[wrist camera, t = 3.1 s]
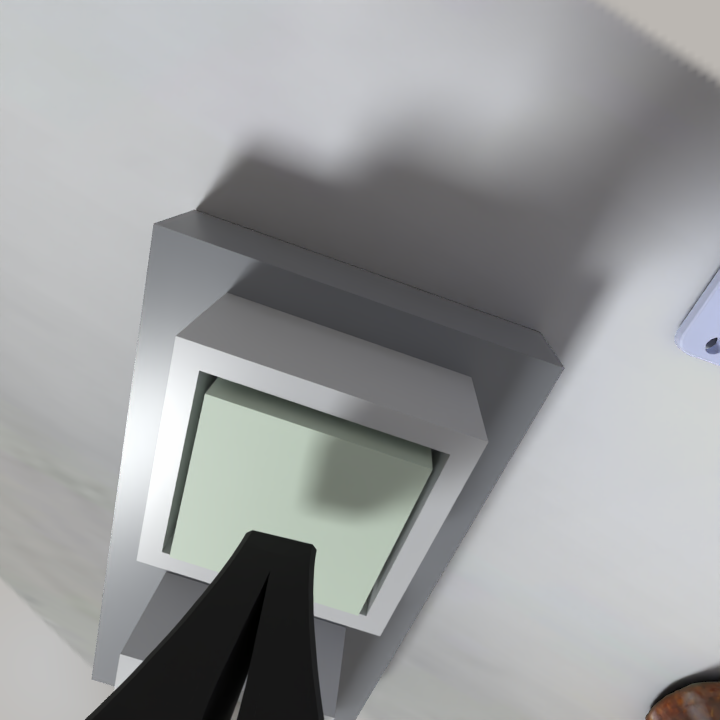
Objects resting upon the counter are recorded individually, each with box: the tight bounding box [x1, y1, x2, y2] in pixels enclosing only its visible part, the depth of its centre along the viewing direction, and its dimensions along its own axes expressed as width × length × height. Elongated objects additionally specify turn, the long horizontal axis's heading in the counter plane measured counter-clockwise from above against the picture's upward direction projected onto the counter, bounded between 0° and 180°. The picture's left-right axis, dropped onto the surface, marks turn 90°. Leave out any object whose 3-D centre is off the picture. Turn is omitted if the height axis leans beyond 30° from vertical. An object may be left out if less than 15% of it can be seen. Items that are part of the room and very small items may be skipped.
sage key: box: [170, 377, 433, 616], centre depth 12 cm, size 5×5×2 cm
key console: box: [92, 210, 564, 720], centre depth 16 cm, size 11×20×6 cm, turn 161°
